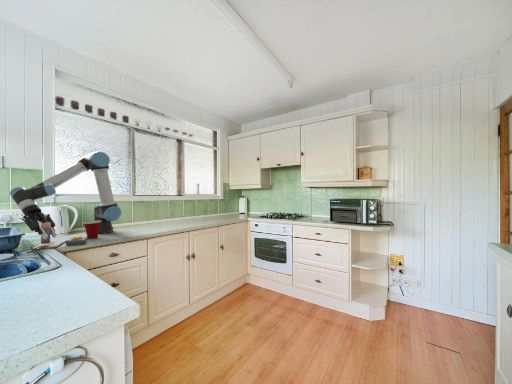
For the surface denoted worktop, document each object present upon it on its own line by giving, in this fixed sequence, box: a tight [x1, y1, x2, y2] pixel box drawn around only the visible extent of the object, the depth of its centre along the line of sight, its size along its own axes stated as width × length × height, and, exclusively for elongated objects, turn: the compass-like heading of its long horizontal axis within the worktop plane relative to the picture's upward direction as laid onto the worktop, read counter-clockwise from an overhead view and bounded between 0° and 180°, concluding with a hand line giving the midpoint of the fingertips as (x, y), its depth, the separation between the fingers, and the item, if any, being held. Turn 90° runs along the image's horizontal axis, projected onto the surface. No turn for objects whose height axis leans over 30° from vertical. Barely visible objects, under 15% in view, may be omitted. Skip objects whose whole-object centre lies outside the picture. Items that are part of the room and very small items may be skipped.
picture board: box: [30, 239, 68, 251], centre depth 135 cm, size 11×20×1 cm, turn 28°
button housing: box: [65, 236, 89, 246], centre depth 141 cm, size 9×9×3 cm
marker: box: [40, 222, 51, 244], centre depth 130 cm, size 4×4×12 cm
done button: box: [72, 235, 83, 240], centre depth 141 cm, size 4×4×2 cm
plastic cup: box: [82, 220, 101, 240], centre depth 158 cm, size 11×11×12 cm
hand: (50, 237), depth 129 cm, fingers closed on marker, 4 cm apart
